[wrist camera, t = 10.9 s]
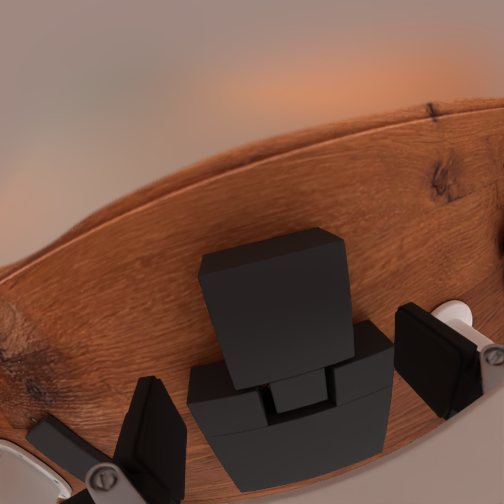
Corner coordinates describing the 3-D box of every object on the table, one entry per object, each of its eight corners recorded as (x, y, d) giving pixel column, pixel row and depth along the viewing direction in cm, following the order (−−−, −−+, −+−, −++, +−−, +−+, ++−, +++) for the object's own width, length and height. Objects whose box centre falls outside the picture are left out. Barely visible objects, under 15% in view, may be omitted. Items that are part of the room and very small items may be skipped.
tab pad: (202, 255, 15) (197, 276, 12) (319, 226, 15) (344, 239, 12) (242, 383, 17) (247, 420, 14) (336, 358, 18) (355, 389, 14)
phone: (44, 421, 16) (170, 500, 19) (50, 412, 17) (171, 490, 21) (23, 439, 16) (131, 508, 20) (28, 431, 17) (132, 500, 21)
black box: (237, 462, 20) (241, 492, 16) (190, 367, 17) (186, 404, 13) (367, 426, 20) (382, 452, 17) (369, 319, 17) (396, 345, 14)
